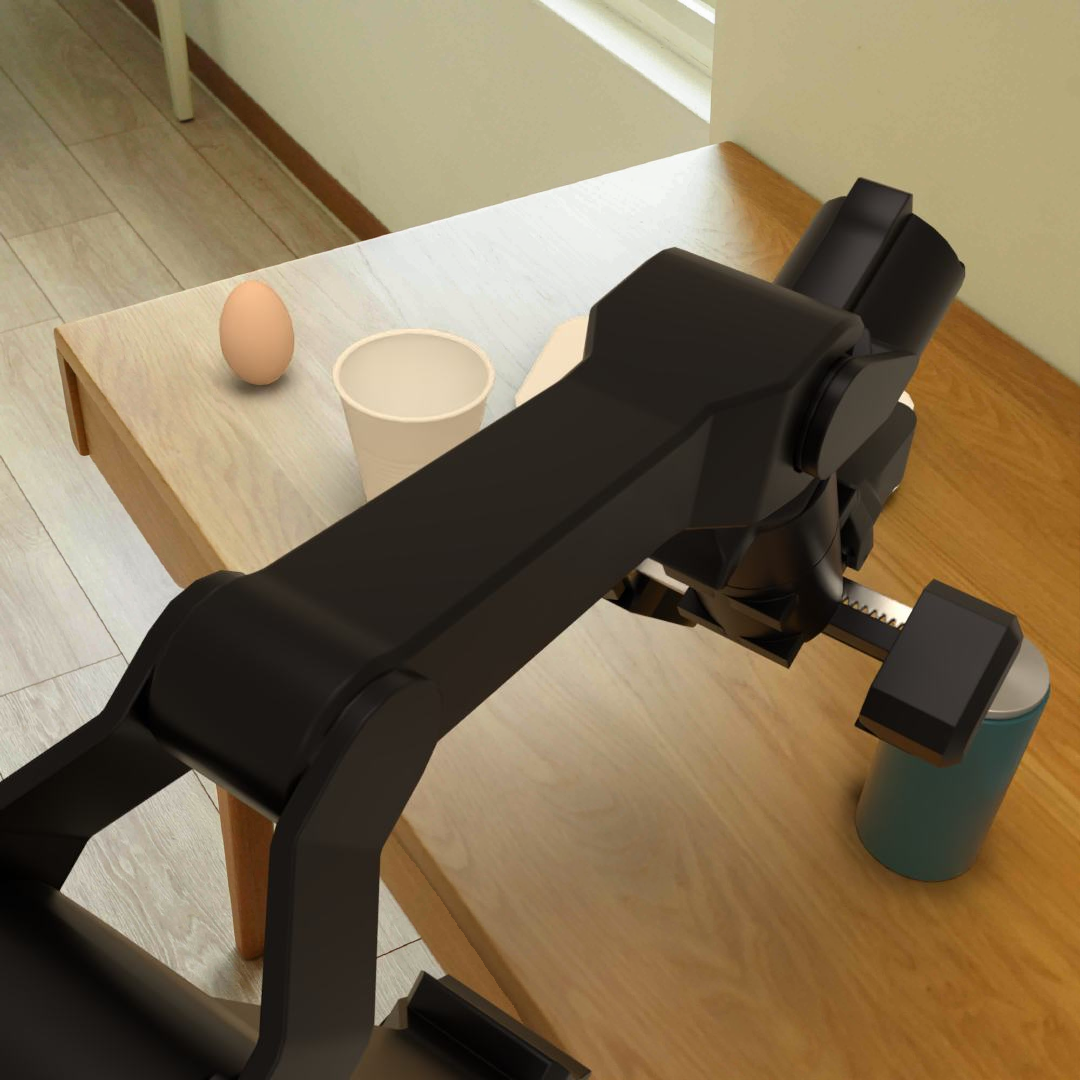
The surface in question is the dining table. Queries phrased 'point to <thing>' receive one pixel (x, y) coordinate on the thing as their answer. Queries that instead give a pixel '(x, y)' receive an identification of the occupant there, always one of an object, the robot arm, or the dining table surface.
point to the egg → (256, 333)
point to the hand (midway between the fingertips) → (784, 660)
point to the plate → (573, 361)
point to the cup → (410, 400)
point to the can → (952, 784)
